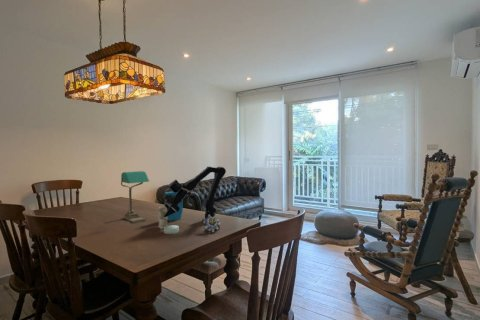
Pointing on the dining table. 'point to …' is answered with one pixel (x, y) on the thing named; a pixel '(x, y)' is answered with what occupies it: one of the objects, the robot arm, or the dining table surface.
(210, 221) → the passion flower
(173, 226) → the plinth
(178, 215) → the block
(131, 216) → the banker's lamp
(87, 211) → the dining table surface
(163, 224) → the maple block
